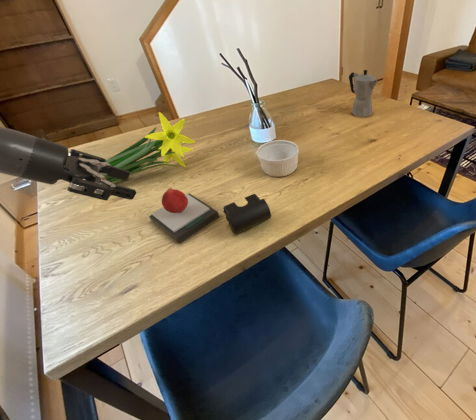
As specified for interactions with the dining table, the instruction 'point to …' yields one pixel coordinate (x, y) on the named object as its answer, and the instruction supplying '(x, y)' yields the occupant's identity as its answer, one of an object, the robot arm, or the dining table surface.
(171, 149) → the daffodil flowers
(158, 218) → the kitchen scale
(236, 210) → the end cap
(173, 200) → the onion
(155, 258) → the dining table surface
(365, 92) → the coffeepot
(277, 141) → the ramekin
